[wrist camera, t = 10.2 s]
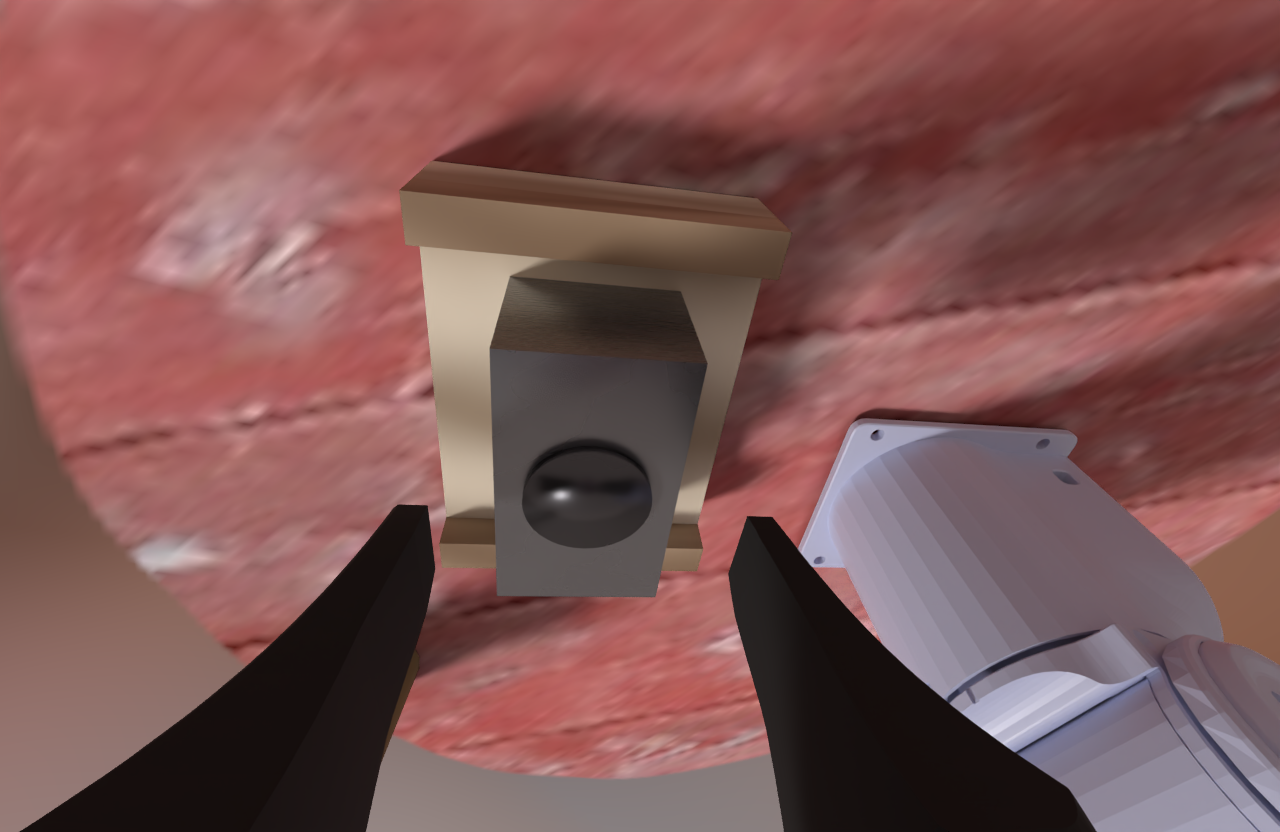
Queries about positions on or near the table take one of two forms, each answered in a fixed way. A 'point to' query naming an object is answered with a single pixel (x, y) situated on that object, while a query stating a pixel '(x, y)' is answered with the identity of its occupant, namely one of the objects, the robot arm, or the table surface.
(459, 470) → the stand
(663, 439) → the housing
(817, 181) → the table surface
